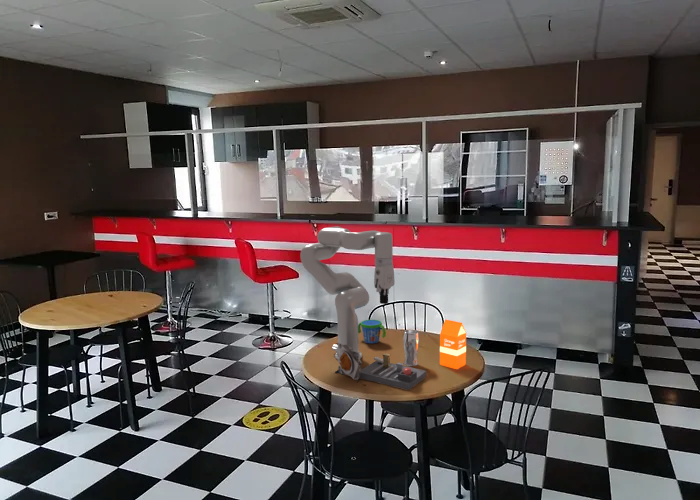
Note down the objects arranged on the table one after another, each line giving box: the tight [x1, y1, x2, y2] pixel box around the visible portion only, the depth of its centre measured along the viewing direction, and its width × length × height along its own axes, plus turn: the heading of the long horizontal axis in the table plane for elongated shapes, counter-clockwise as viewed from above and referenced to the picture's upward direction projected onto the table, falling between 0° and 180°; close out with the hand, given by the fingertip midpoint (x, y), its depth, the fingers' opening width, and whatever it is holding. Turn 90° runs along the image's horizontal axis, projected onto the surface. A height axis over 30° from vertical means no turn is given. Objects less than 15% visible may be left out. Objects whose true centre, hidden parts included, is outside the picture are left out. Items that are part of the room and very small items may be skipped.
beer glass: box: [402, 328, 420, 367], centre depth 232 cm, size 7×7×15 cm
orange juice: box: [439, 318, 467, 370], centre depth 230 cm, size 8×9×20 cm
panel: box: [359, 360, 427, 391], centre depth 218 cm, size 24×16×5 cm, turn 56°
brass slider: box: [382, 352, 391, 368], centre depth 222 cm, size 3×2×6 cm, turn 56°
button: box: [403, 367, 412, 376], centre depth 210 cm, size 3×3×4 cm
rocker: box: [373, 355, 383, 363], centre depth 227 cm, size 6×2×1 cm, turn 56°
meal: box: [334, 342, 363, 383], centre depth 219 cm, size 15×4×13 cm, turn 38°
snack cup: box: [358, 319, 387, 345], centre depth 263 cm, size 16×10×10 cm
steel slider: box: [395, 361, 405, 372], centre depth 218 cm, size 3×2×3 cm, turn 56°
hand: (383, 303), depth 225 cm, fingers closed
